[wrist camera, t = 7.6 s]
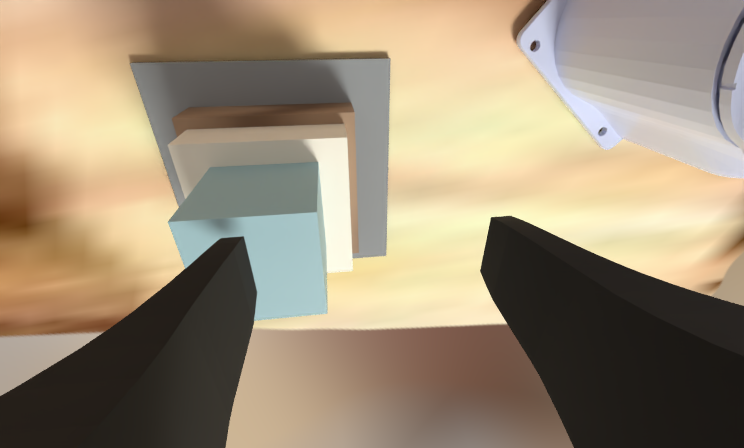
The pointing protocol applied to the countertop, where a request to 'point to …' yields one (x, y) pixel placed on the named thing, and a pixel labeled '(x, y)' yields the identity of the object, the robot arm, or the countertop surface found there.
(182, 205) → the teal cube
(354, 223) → the walnut slab
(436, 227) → the countertop surface
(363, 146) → the slate mat
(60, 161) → the countertop surface
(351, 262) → the cream slab
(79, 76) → the countertop surface
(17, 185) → the countertop surface
